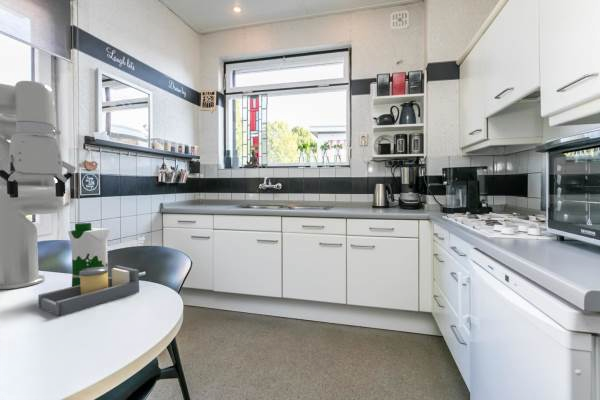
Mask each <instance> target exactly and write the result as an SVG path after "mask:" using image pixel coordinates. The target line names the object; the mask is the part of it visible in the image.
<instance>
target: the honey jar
mask: <svg viewBox="0 0 600 400" xmlns="http://www.w3.org/2000/svg"><path fill="white" fill-rule="evenodd" d="M108 273H109V266H108V267H93V268H87V269H83V270H81V271H80V289H81V295H83V294H86V293H90V292H94V291H98V290H102V289H105V288H108Z"/></svg>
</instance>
